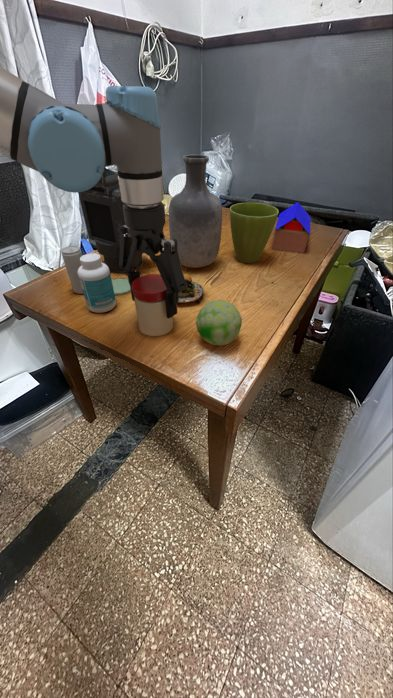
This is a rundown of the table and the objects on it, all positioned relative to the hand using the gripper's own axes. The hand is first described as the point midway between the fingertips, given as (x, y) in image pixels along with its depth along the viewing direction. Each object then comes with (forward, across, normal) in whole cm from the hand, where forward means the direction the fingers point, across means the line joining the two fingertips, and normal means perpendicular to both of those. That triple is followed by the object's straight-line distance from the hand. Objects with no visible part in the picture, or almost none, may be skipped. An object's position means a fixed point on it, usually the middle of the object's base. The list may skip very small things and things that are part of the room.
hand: (154, 306), depth 66 cm
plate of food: (+6, +4, -14) cm, 16 cm away
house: (+6, -1, -72) cm, 72 cm away
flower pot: (+6, +3, -47) cm, 48 cm away
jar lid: (-6, 0, 0) cm, 6 cm away
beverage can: (+6, +28, +2) cm, 29 cm away
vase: (+6, +14, -32) cm, 36 cm away
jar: (+5, 0, 0) cm, 5 cm away
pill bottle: (+6, +17, +3) cm, 18 cm away
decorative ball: (+6, -15, -5) cm, 17 cm away
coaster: (+5, +21, -6) cm, 23 cm away
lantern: (+6, +31, -18) cm, 36 cm away
